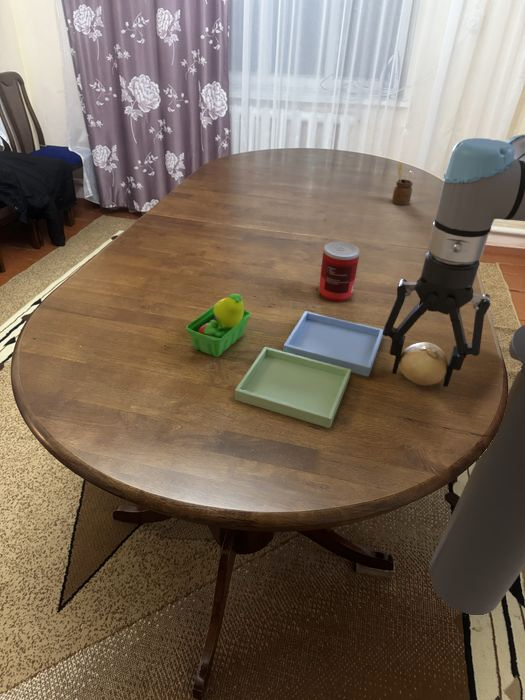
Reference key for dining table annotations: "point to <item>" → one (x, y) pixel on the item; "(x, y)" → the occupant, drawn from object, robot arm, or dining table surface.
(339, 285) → the canned food
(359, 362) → the blue tray
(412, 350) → the onion
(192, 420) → the dining table surface
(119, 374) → the dining table surface
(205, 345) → the fruit basket
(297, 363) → the green tray
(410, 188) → the utensil holder
